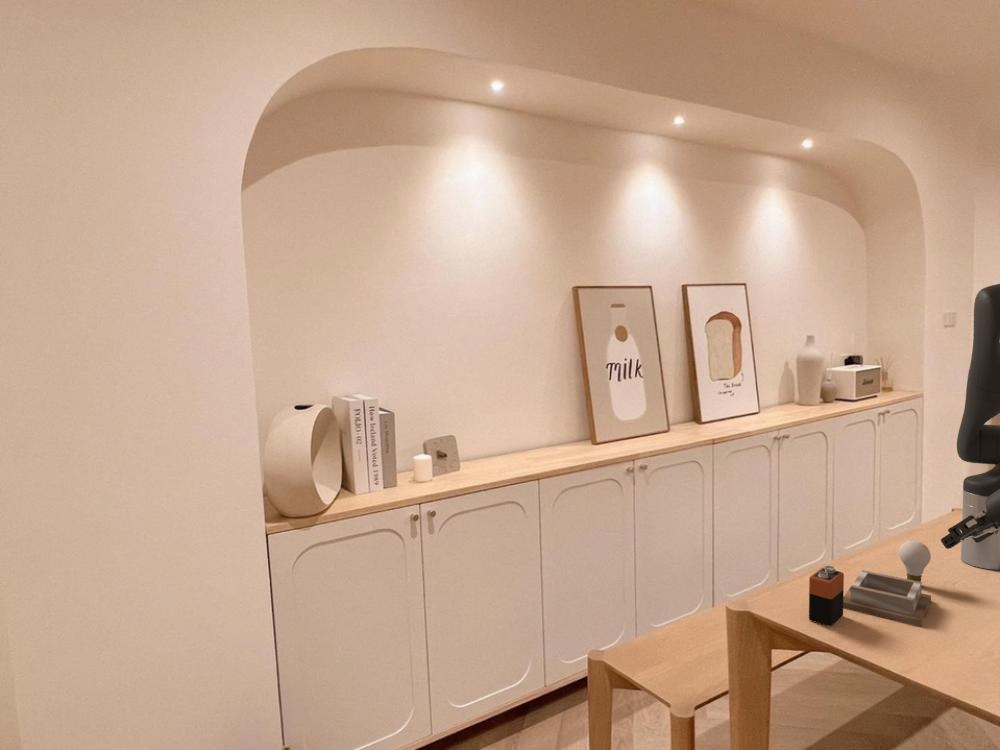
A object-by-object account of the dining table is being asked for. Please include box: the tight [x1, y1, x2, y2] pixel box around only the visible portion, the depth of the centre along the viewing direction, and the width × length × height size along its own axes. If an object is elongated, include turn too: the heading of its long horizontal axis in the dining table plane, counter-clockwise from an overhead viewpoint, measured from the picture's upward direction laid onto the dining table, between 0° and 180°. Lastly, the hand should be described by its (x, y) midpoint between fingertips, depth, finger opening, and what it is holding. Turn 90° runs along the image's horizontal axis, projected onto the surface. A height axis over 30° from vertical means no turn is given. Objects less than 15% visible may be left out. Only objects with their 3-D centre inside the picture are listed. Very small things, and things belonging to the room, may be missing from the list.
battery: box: [808, 565, 845, 627], centre depth 127 cm, size 4×7×10 cm, turn 133°
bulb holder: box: [843, 569, 932, 627], centre depth 133 cm, size 14×14×4 cm
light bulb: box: [898, 539, 932, 582], centre depth 141 cm, size 6×6×10 cm
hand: (959, 541), depth 132 cm, fingers open, 8 cm apart
